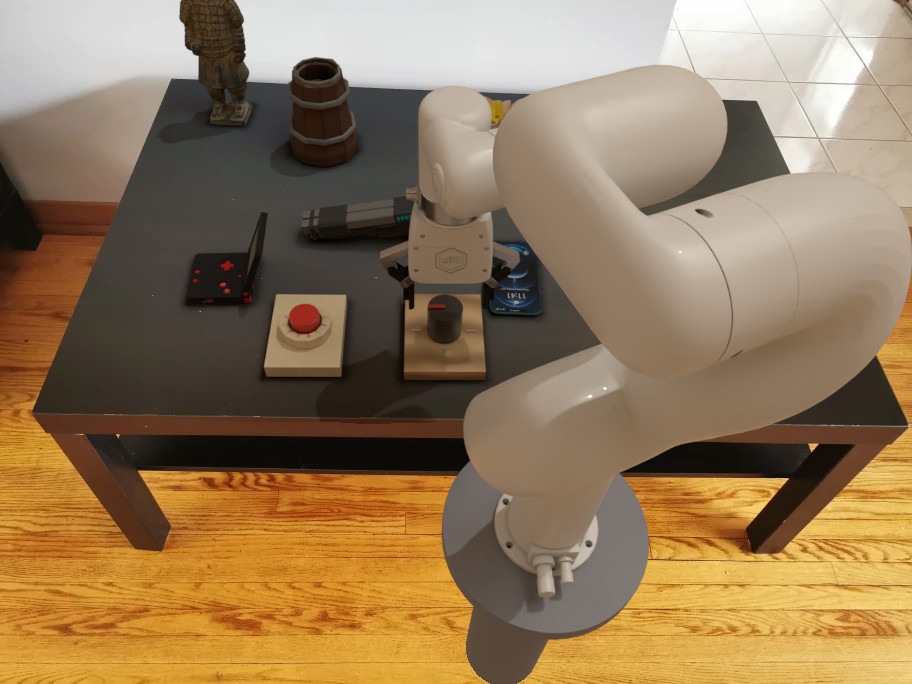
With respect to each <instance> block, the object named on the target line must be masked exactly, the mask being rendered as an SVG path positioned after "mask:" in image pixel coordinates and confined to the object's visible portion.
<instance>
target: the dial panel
mask: <svg viewBox="0 0 912 684" xmlns="http://www.w3.org/2000/svg"><path fill="white" fill-rule="evenodd" d="M443 294H444V293H414V308H413V310H409V300H404V349H403V381H485V380H486V374H487V367H486V354H485V353H486V352H485V338H484V324H483V323H484V322H483V312H482V311H483V310H482V309H483V308H482V295H481V294H480V293H479V294H473V293H465V294H464V293H446V294H447V295H452V296H454V297H456V298H458V299H459V300H460V301H461V303H462V305H463V317H462V328H461V335H460V337H459V338H458V339H457V340H456V341H454V342H452V343H449V344H440V343H436V342H434V341H433V340H432V339H431V338H430V337H429V336H428V334H427V308H428V303H429V302H430V300H431V299H432V298H434V297H435V296H438V295H443Z"/></svg>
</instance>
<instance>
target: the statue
mask: <svg viewBox="0 0 912 684" xmlns="http://www.w3.org/2000/svg"><path fill="white" fill-rule="evenodd" d="M178 19H179V21H180V22H181V23H182V24H183V27H184V47H185V48H186V49H187V50H188V51H190V52H191V53H192V55H193V56H196V57H197V58H198V61H197V62H198V65H197V66H198V67H197V68H198V69H197V70H198V74H197V75H198V76H197V80H198V82H199V84H200V85H201V86H204V88H205V90H206V92H207V93H208V95H209V97H210V99H211V101H212V103H213V106H212V112H211V114H210V117H209V120H208V121H209V124H211V125H218V126H219V125H221V126H238V127H246V126H247V123H248V121H249V118H250V117H251V116H250V115H251V112H252V110H253V103H252V101H250V100H246V99H247V98H246V93H247V92H246V91H247V87H248V86H247V85H248V83H247V82H248V78H249V77H250V70H249V68H248V66H247V65H246V63H245V61H244V60H245V59H246V57H247V53H246V52H245V51H246V50H247V49H246V48H247V47H246V46H247V45H246V37H245V31H244V27H243V24H244V23H245V18H244V15H243V13H242V11H241V8H240V6H239V5H238V3H237V2H236V0H180V2H179V15H178ZM225 90H227V91H228V92H229V95H230V97H231V99H226V93H225Z"/></svg>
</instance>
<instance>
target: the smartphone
mask: <svg viewBox="0 0 912 684" xmlns="http://www.w3.org/2000/svg"><path fill="white" fill-rule="evenodd" d="M493 242H496V243H498V244H501V245H503V246H506V247H508V248H511V249H513V250H515V251H518V252H519V254H520V262H519V263H518V265H517V266H516V267H515V268H514V269H513V270H512V271H511V274H510V275H509V276H507V277H506V278H504V279H503V280H501V281H500V282H498V286H497V287H495V291H494V300H489V309H490V311H491V312H492V313H493V314H496V315H512V316H513V315H516V316H517V315H519V316H538V315H540V314H541V312H542V296H541V288H540V277H539V268H538V267H539V266H538V257H537V255H536V254H535V253H534V251H533V250H532V248H531V247H530V246H529V244H528V243H527V242H523V241H522V242H520V241H519V242H518V241H494V240H493ZM502 261H504V260H501V259H499V258H496V257H494V256H493V257H492V264H493V265H494V266H496V265H498V264H499V263H501V262H502Z"/></svg>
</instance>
